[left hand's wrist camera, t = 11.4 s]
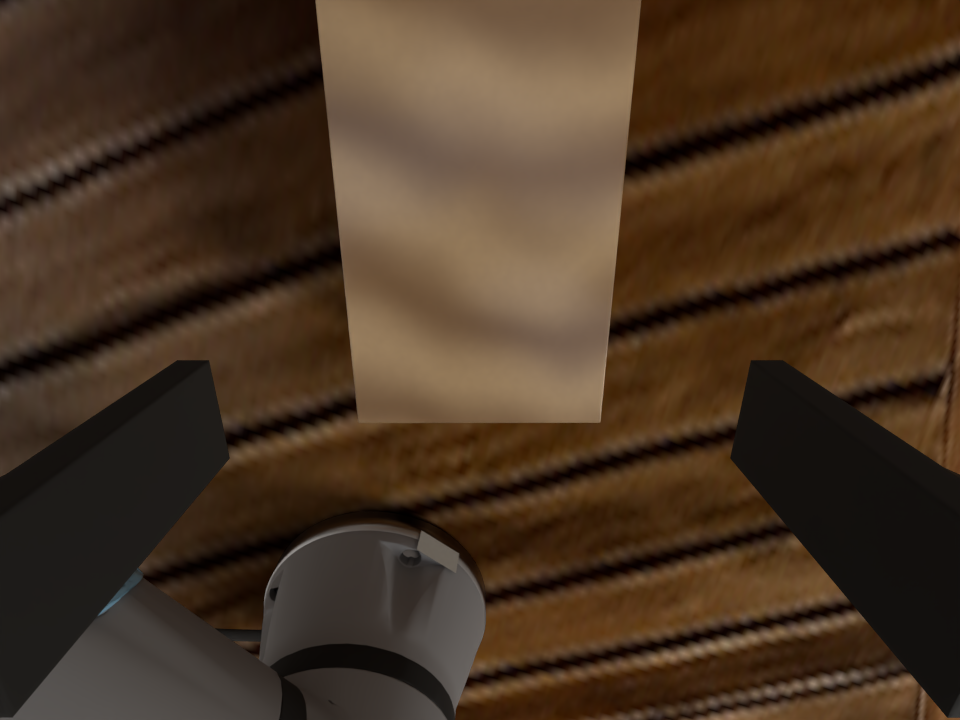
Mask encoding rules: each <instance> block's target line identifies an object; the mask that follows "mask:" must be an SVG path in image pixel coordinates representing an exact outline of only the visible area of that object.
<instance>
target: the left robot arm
mask: <svg viewBox="0 0 960 720" xmlns="http://www.w3.org/2000/svg"><path fill="white" fill-rule="evenodd" d="M228 460H229V453H228V448H227V443H226V439H225V434H224V429H223V425H222V420H221V415H220V410H219V406H218V401H217V396H216V392H215V387H214V382H213V377H212V373H211V368H210V363H209V360H177V361H176V362H174V363H173V364H171V365H170V366H168V367H167V368H165V369H164V370H162V371H161V372H159V373H158V374H156V375H155V376H153V377H152V378H150V379H149V380H147V381H146V382H144V383H143V384H141V385H140V386H138V387H137V388H135V389H134V390H132V391H131V392H129V393H128V394H126V395H125V396H123V397H122V398H120V399H119V400H117V401H116V402H114V403H113V404H111V405H110V406H108V407H107V408H105V409H104V410H102V411H101V412H99V413H98V414H96V415H95V416H93V417H92V418H90V419H89V420H87V421H86V422H84V423H83V424H81V425H80V426H78V427H77V428H75V429H74V430H72V431H71V432H69V433H68V434H66V435H65V436H63V437H62V438H60V439H59V440H57V441H56V442H54V443H53V444H51V445H49V446H48V447H46V448H45V449H43V450H42V451H40V452H39V453H37V454H36V455H34V456H33V457H31V458H30V459H28V460H27V461H25V462H24V463H22V464H21V465H19V466H18V467H16V468H15V469H13V470H12V471H10V472H9V473H7V474H6V475H4V476H1V477H0V720H455V711H456V707H457V704H458V702H459V699H460V696H461V694H462V691H463V688H464V686H465V683H466V680H467V678H468V675H469V672H470V669H471V667H472V664H473V661H474V658H475V655H476V652H477V650H478V647H479V645H480V643H481V640H482V638H483V634H484V631H485V624H486V595H485V586H484V582H483V578H482V575H481V573H480V570H479V568H478V567H477V565H476V563H475V561H474V560H473V558H472V557H471V555H470V554H469V553H468V552H467V551H466V550H465V548H464V547H463V546H462V545H461V544H459V543H458V542H457V541H456V540H455V539H454V538H452V537H451V536H450V535H448V534H447V533H445V532H444V531H442V530H441V529H439V528H437V527H435V526H433V525H431V524H429V523H426V522H424V521H422V520H419V519H416V518H413V517H410V516H405V515H401V514H396V513H390V512H378V511H366V512H355V513H348V514H343V515H339V516H335V517H332V518H329V519H327V520H324V521H322V522H320V523H317V524H315V525H314V526H312V527H310V528H308V529H307V530H305V531H304V532H303V533H301V534H300V535H299V536H298V537H297V538H296V539H294V540H293V541H292V542H291V544H290V545H289V546H288V547H287V548H286V550H285V551H284V553H283V554H282V556H281V558H280V560H279V562H278V564H277V566H276V568H275V570H274V572H273V574H272V576H271V578H270V580H269V582H268V585H267V588H266V592H265V597H264V618H263V624H262V630H240V629H216V628H213V627H212V626H210V625H209V624H208V623H206V622H205V621H203V620H202V619H201V618H199V617H198V616H196V615H195V614H193V613H192V612H191V611H189V610H188V609H186V608H185V607H184V606H182V605H181V604H179V603H178V602H176V601H175V600H174V599H172V598H171V597H169V596H168V595H167V594H165V593H164V592H162V591H161V590H159V589H158V588H157V587H155V586H154V585H152V584H151V583H150V582H148V581H147V580H145V579H144V578H142V577H143V573H142V572H141V571H140V569H139V568H138V567H139V566H140V565H141V564H142V562H143V561H144V560H145V559H146V558H147V556H148V555H149V554H150V553H151V552H152V550H153V549H154V548H155V547H156V546H157V544H158V543H159V542H160V541H161V540H162V538H163V537H164V536H165V535H166V534H167V532H168V531H169V530H170V529H171V528H172V526H173V525H174V524H175V523H176V522H177V521H178V519H179V518H180V517H181V516H182V515H183V513H184V512H185V511H186V510H187V509H188V507H189V506H190V505H191V504H192V503H193V501H194V500H195V499H196V498H197V497H198V495H199V494H200V493H201V492H202V491H203V489H204V488H205V487H206V486H207V485H208V483H209V482H210V481H211V480H212V479H213V477H214V476H215V475H216V474H217V473H218V472H219V470H220V469H221V468H222V467H223V466H224V464H225V463H226V462H227V461H228ZM731 460H732V461H733V462H734V463H735V464H736V466H737V467H738V468H739V469H740V470H741V472H742V473H743V474H744V475H745V476H746V477H747V479H748V480H749V481H750V482H751V483H752V485H753V486H754V487H755V488H756V489H757V491H758V492H759V493H760V494H761V495H762V497H763V498H764V499H765V500H766V501H767V503H768V504H769V505H770V506H771V507H772V509H773V510H774V511H775V512H776V513H777V515H778V516H779V517H780V518H781V519H782V521H783V522H784V523H785V524H786V525H787V526H788V528H789V529H790V530H791V531H792V532H793V534H794V535H795V536H796V537H797V538H798V540H799V541H800V542H801V543H802V544H803V546H804V547H805V548H806V549H807V550H808V552H809V553H810V554H811V555H812V556H813V558H814V559H815V560H816V561H817V562H818V564H819V565H820V566H821V567H822V568H823V570H824V571H825V572H826V573H827V574H828V575H829V577H830V578H831V579H832V580H833V581H834V583H835V584H836V585H837V586H838V587H839V589H840V590H841V591H842V592H843V593H844V595H845V596H846V597H847V598H848V599H849V601H850V602H851V603H852V604H853V605H854V607H855V608H856V609H857V610H858V611H859V613H860V614H861V615H862V616H863V617H864V619H865V620H866V621H867V622H868V623H869V624H870V626H871V627H872V628H873V629H874V630H875V632H876V633H877V634H878V635H879V636H880V638H881V639H882V640H883V641H884V642H885V644H886V645H887V646H888V647H889V648H890V650H891V651H892V652H893V653H894V654H895V656H896V657H897V658H898V659H899V660H900V662H901V663H902V664H903V665H904V666H905V668H906V669H907V670H908V671H909V672H910V673H911V675H912V676H913V677H914V678H915V679H916V681H917V682H918V683H919V684H920V685H921V687H922V688H923V689H924V690H925V691H926V693H927V694H928V695H929V696H930V697H931V699H932V700H933V701H934V702H935V703H936V705H937V706H938V707H939V708H940V709H941V711H942V712H943V713H944V714H945V715H946V717H947V718H960V475H959V474H957V473H955V472H953V471H950V470H948V469H946V468H944V467H942V466H941V465H939V464H938V463H936V462H935V461H933V460H932V459H930V458H929V457H927V456H926V455H924V454H923V453H921V452H920V451H918V450H917V449H915V448H914V447H912V446H911V445H909V444H907V443H906V442H904V441H903V440H901V439H900V438H898V437H897V436H895V435H894V434H892V433H891V432H889V431H888V430H886V429H885V428H883V427H882V426H880V425H879V424H877V423H876V422H874V421H873V420H871V419H870V418H868V417H867V416H865V415H864V414H862V413H861V412H859V411H858V410H856V409H855V408H853V407H852V406H850V405H849V404H847V403H846V402H844V401H843V400H841V399H840V398H838V397H837V396H835V395H834V394H832V393H831V392H829V391H828V390H826V389H825V388H823V387H822V386H820V385H819V384H817V383H816V382H814V381H813V380H811V379H810V378H808V377H807V376H805V375H804V374H802V373H801V372H799V371H798V370H796V369H795V368H793V367H792V366H790V365H789V364H787V363H786V362H784V361H783V360H751V363H750V368H749V373H748V377H747V382H746V387H745V392H744V396H743V401H742V406H741V410H740V415H739V420H738V425H737V429H736V434H735V439H734V443H733V448H732V453H731ZM233 641H257V642H261V646H260V657H259V659H257V658H256V657H254V656H253V655H252V654H250V653H249V652H247V651H246V650H244V649H243V648H242V647H240V646H239V645H237V644H236V643H235V642H233Z"/></svg>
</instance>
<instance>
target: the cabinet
mask: <svg viewBox="0 0 960 720" xmlns="http://www.w3.org/2000/svg"><path fill="white" fill-rule="evenodd" d="M315 2H316V11H317V21H318V31H319V41H320V51H321V61H322V70H323V80H324V90H325V100H326V110H327V120H328V129H329V139H330V149H331V159H332V169H333V179H334V188H335V198H336V208H337V218H338V228H339V238H340V247H341V257H342V267H343V277H344V287H345V297H346V306H347V316H348V326H349V336H350V346H351V355H352V365H353V375H354V385H355V395H356V405H357V414H358V422H359V423H600V420H601V410H602V400H603V389H604V379H605V369H606V358H607V348H608V338H609V327H610V317H611V307H612V296H613V286H614V276H615V265H616V255H617V245H618V234H619V224H620V214H621V203H622V193H623V183H624V172H625V162H626V152H627V141H628V131H629V121H630V110H631V100H632V90H633V79H634V69H635V59H636V48H637V38H638V28H639V17H640V7H641V0H315Z"/></svg>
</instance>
